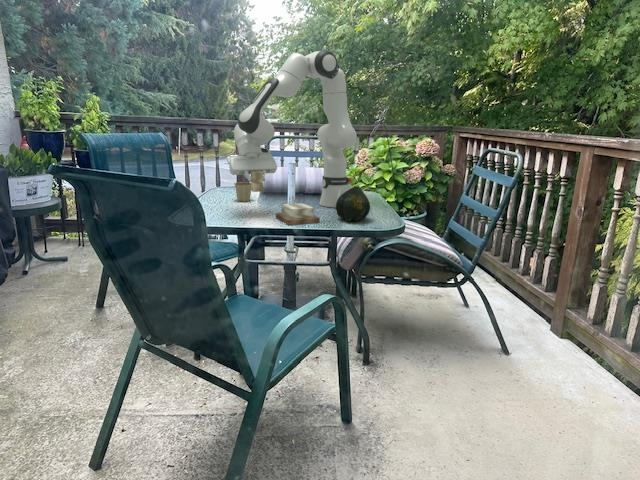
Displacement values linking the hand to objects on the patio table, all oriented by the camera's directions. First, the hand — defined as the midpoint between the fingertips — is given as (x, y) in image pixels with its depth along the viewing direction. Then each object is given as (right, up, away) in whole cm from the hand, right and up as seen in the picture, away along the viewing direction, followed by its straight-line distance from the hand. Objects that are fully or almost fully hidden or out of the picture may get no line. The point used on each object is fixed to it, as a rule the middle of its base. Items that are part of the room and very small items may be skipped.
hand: (257, 180), depth 188 cm
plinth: (+17, -17, 0) cm, 24 cm away
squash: (+40, -16, +5) cm, 44 cm away
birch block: (0, -4, +2) cm, 4 cm away
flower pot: (-12, -5, +38) cm, 40 cm away
